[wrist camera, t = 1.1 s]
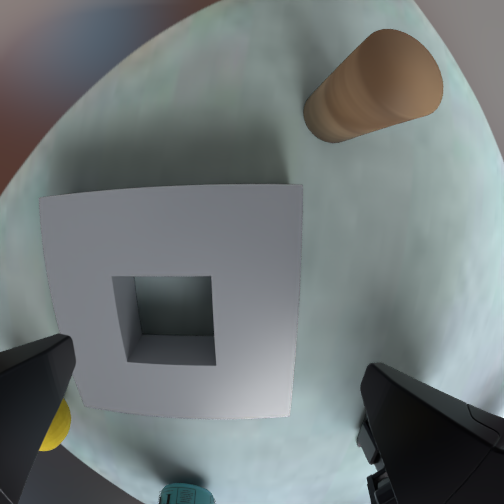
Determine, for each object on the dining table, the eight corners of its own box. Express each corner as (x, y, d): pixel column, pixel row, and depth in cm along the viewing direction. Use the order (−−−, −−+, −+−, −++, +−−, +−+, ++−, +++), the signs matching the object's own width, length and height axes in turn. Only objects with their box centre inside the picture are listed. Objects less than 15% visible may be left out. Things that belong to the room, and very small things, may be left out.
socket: (289, 184, 20) (302, 184, 16) (282, 384, 23) (289, 416, 19) (68, 193, 19) (38, 197, 15) (100, 379, 22) (84, 406, 18)
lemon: (85, 420, 24) (59, 473, 16) (43, 404, 23) (12, 450, 15) (77, 381, 22) (41, 436, 15) (32, 365, 22) (-8, 411, 14)
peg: (356, 93, 18) (436, 43, 9) (358, 145, 19) (447, 125, 10) (302, 86, 18) (356, 19, 8) (303, 141, 19) (365, 107, 9)
